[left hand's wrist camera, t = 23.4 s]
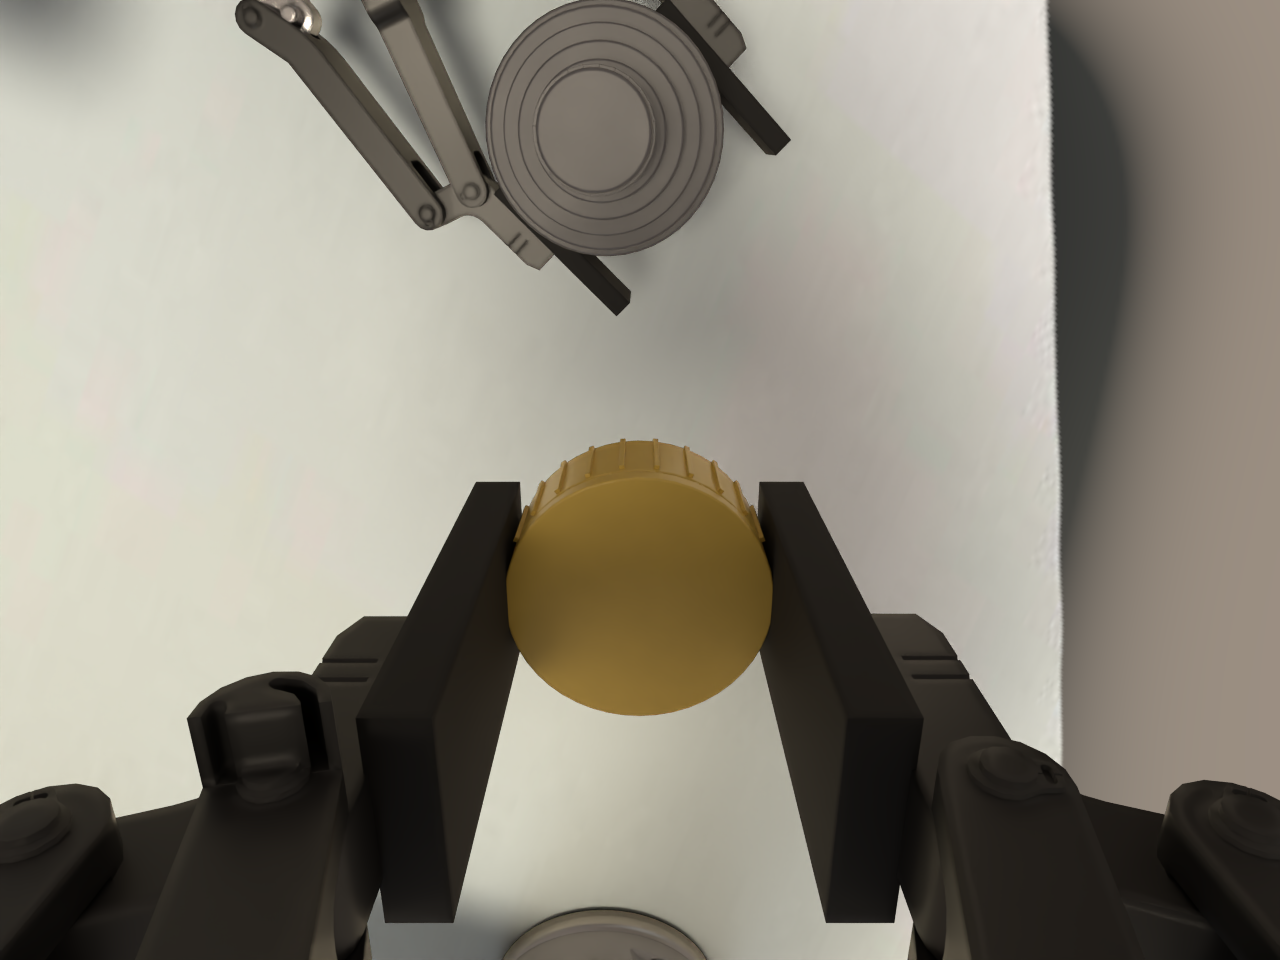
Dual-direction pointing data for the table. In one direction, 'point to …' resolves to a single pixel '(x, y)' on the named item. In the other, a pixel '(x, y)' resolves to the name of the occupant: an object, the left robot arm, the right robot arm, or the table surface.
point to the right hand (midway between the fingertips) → (698, 227)
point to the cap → (639, 579)
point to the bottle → (604, 127)
